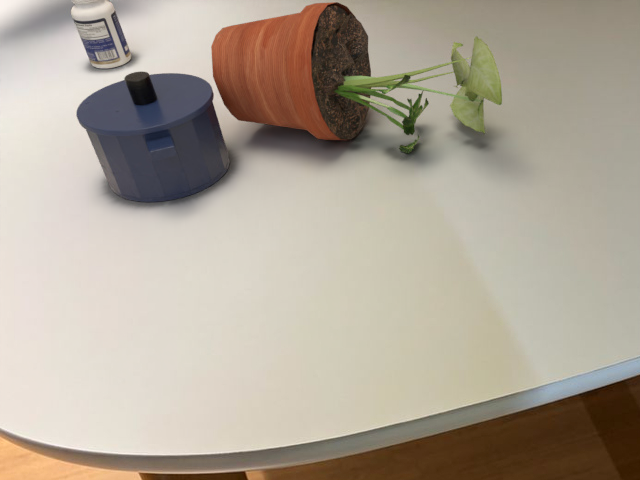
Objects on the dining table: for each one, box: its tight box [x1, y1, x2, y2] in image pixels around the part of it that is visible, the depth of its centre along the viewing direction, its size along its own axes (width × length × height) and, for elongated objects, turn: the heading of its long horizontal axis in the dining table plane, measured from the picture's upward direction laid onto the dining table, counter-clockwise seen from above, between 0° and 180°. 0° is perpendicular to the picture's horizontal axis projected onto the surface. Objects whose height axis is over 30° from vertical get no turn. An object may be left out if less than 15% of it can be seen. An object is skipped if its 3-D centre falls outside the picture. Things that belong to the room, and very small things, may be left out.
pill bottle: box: [70, 0, 132, 69], centre depth 107 cm, size 5×5×10 cm
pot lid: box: [75, 71, 214, 136], centre depth 81 cm, size 13×13×4 cm
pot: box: [85, 100, 230, 203], centre depth 85 cm, size 13×18×8 cm
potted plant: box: [210, 1, 503, 154], centre depth 86 cm, size 16×15×35 cm
